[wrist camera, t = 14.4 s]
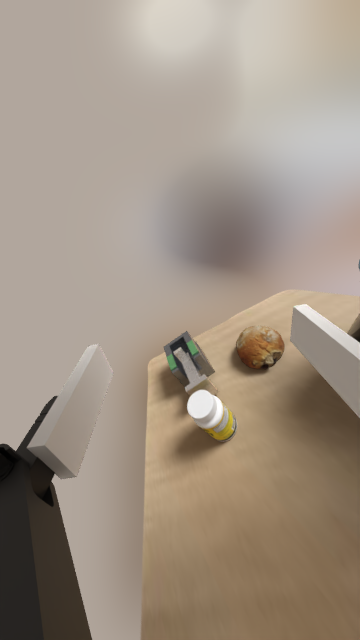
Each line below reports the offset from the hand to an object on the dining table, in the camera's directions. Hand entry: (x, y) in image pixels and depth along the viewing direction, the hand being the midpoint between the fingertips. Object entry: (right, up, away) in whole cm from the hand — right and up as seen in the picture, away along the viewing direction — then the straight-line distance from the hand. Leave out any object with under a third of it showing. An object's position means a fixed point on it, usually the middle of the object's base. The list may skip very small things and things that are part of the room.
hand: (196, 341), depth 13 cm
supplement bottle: (+7, -19, +25) cm, 32 cm away
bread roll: (+18, -6, +32) cm, 37 cm away
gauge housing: (+3, -11, +39) cm, 40 cm away
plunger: (+4, -13, +33) cm, 36 cm away
